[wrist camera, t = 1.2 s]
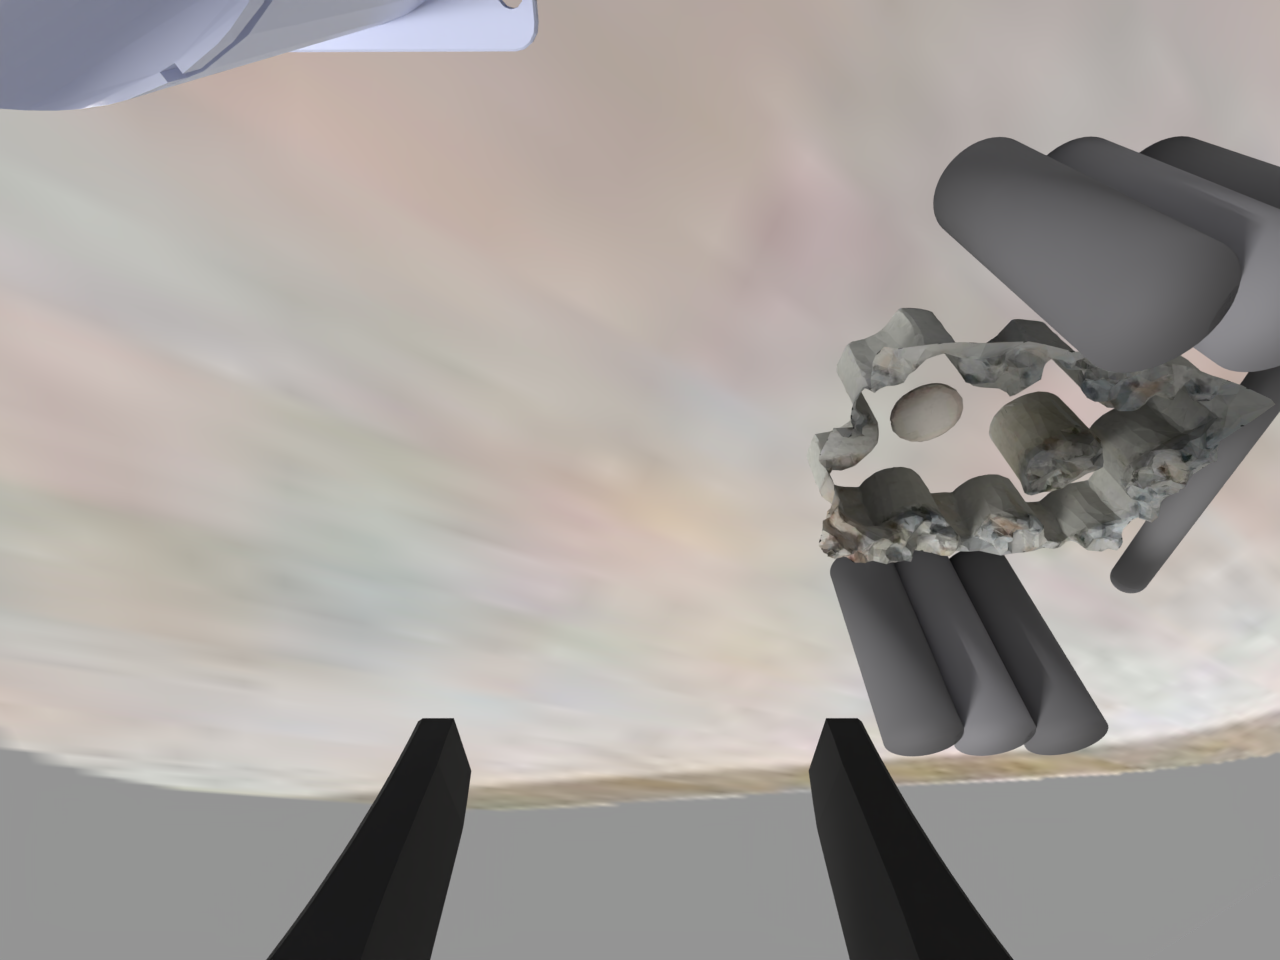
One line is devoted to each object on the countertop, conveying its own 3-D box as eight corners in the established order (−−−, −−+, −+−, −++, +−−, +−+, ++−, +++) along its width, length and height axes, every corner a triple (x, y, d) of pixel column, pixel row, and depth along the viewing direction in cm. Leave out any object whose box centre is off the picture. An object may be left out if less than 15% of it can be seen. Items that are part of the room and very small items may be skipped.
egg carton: (781, 477, 23) (804, 563, 19) (864, 273, 18) (912, 343, 15) (1058, 514, 24) (1122, 601, 21) (1205, 331, 19) (1318, 408, 16)
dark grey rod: (1361, 188, 16) (1405, 202, 15) (1408, 187, 16) (1455, 202, 15) (1097, 576, 25) (1115, 599, 25) (1127, 576, 25) (1146, 599, 25)
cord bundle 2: (949, 136, 15) (1121, 238, 10) (1231, 135, 15) (1554, 236, 10) (921, 238, 17) (1057, 373, 11) (1178, 237, 17) (1433, 371, 12)
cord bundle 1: (836, 546, 24) (894, 716, 19) (1014, 545, 24) (1123, 714, 19) (824, 588, 26) (875, 756, 20) (992, 587, 26) (1086, 754, 20)
